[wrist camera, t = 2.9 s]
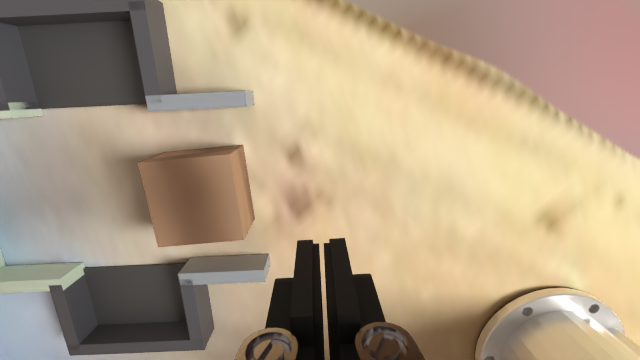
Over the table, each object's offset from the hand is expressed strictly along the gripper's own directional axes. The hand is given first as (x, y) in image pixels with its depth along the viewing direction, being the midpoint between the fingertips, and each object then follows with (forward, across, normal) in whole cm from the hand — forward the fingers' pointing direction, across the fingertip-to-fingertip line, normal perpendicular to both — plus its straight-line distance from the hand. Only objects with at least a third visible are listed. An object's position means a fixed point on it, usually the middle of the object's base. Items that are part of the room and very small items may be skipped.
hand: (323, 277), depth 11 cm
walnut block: (+14, +8, 0) cm, 17 cm away
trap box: (+14, +15, 0) cm, 21 cm away
